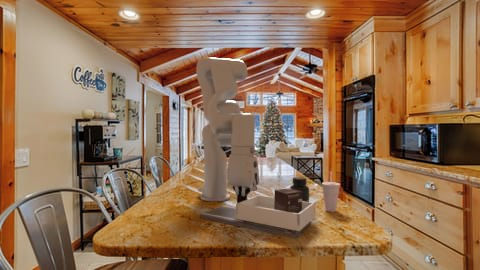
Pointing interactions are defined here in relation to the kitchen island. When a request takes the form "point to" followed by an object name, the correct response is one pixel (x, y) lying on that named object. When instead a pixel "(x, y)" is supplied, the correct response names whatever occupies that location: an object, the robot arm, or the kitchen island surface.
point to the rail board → (229, 216)
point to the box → (288, 200)
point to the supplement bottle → (301, 187)
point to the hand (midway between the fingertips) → (242, 206)
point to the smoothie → (330, 194)
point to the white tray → (274, 213)
